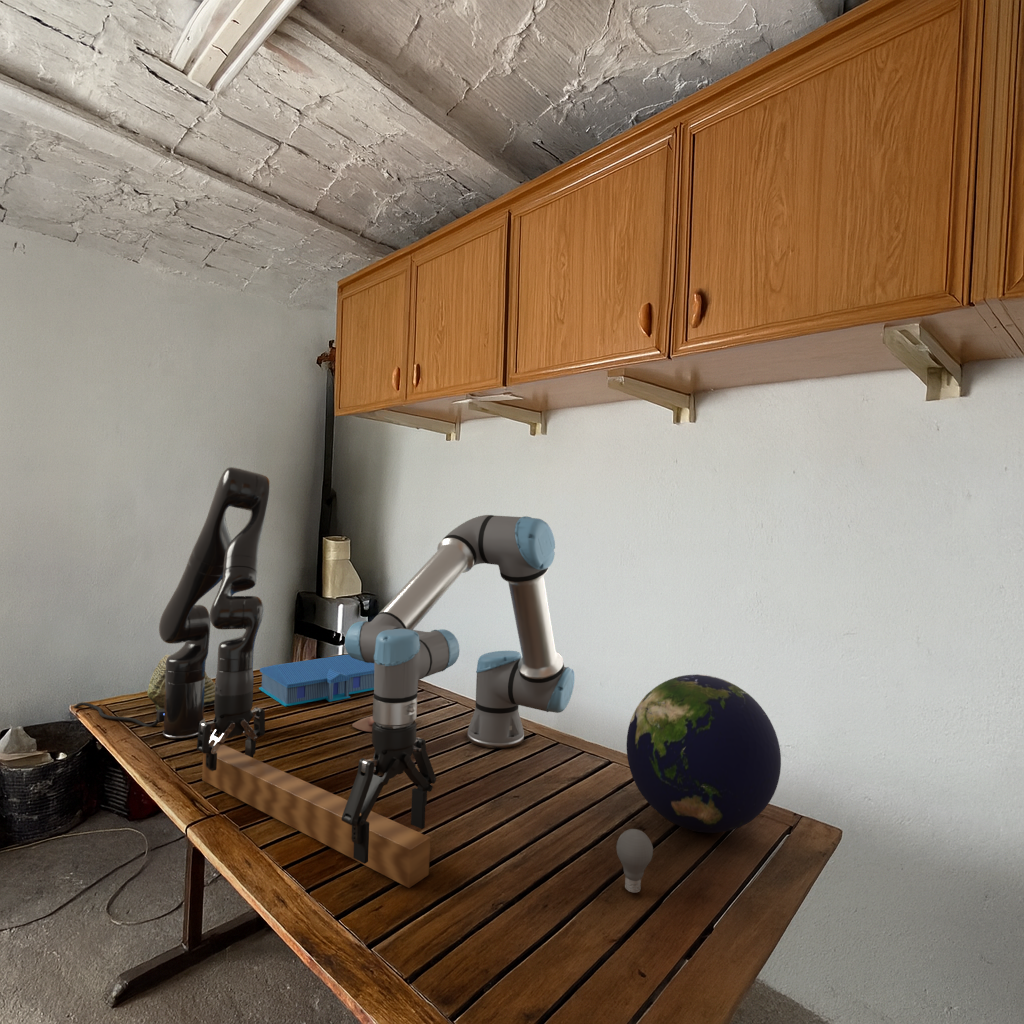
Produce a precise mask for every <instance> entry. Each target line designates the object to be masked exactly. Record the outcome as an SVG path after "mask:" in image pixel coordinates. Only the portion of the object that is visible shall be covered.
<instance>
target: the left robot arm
mask: <svg viewBox="0 0 1024 1024" xmlns="http://www.w3.org/2000/svg"><path fill="white" fill-rule="evenodd" d="M270 481H271V480H270V479H269V478H268V476H266V475H264V474H262V473H258V472H254V471H250V470H247V469H242V468H240V467H239V468H238V467H234V466H229V467H227V468H225V470H224V471H223V472H222V473H221V476H220V477H219V479H218V483H217V484H216V485H217V486H216V488H215V491H214V494H213V497H212V500H211V504H210V506H209V509H208V512H207V516H206V518H205V521H204V523H203V526H202V528H201V531H200V533H199V535H198V537H197V539H196V542H195V544H194V546H193V547H192V548H193V549H192V550H191V553H190V555H189V557H188V560H187V563H186V566H185V568H184V570H183V573H182V576H181V577H180V580H179V582H178V584H177V587H176V588H175V590H174V592H173V594H172V595H171V597H170V599H169V601H168V602H167V604H166V606H165V608H164V610H163V611H162V613H161V616H160V619H159V624H158V632H159V637H160V639H161V640H162V641H163V642H164V643H166V644H170V645H172V644H175V645H177V644H183V643H184V644H183V645H182V647H180V649H178V650H177V651H175V652H174V653H172V654H169V655H170V656H169V657H168V658H167V660H166V674H165V705H164V709H159V710H156V717H155V721H154V722H152V723H145V722H143V721H141V720H139V719H137V718H133V717H125V716H116V715H115V716H113V715H110V714H109V715H108V714H105V713H104V711H103V709H102V708H101V707H99V706H97V705H94V704H92V703H90V702H85V701H83V702H82V701H81V702H78V703H76V704H75V705H74V706H73V709H78V708H79V707H82V706H83V707H87V708H90V709H92V710H96V711H97V712H98V713H99V716H100V717H101V718H103V719H107V720H113V721H126V722H132V723H135V724H137V725H139V726H143V727H149V728H153V727H155V726H157V725H158V724H159V723H160V722H163V731H162V737H164V738H166V739H169V740H185V739H190V738H191V739H192V738H194V737H197V742H196V750H197V752H200V753H202V754H203V753H204V754H205V753H206V767H207V768H208V769H209V770H211V771H214V770H216V769H217V753H216V752H217V750H218V748H219V747H220V746H222V745H224V744H225V741H226V740H227V739H231V738H234V737H235V736H242V734H243V735H244V736H245V737H246V739H245V741H244V742H245V744H244V754H245V755H247V756H250V757H252V758H254V755H256V749H257V748H256V747H257V740H258V738H260V737H264V735H265V734H266V717H265V716H266V711H265V709H263V708H261V707H258V706H256V707H253V703H254V702H253V701H254V677H255V676H254V667H253V666H254V653H255V651H254V650H255V644H256V643H255V642H256V639H257V635H258V632H259V629H260V626H261V623H262V621H263V618H264V615H265V605H264V602H263V600H262V599H261V598H260V597H258V596H256V595H235V594H237V593H240V592H245V591H249V590H251V589H253V588H254V587H256V584H257V581H258V566H259V550H260V545H261V539H262V536H263V530H264V525H265V522H266V518H267V517H266V516H267V511H268V506H269V501H270V494H271V482H270ZM229 507H231V508H235V509H239V510H245V511H249V512H250V515H249V519H248V521H247V523H246V524H245V525H244V527H243V528H242V529H241V530H240V531H239V532H238V533H237V534H236V535H235V536H234V537H233V539H232V537H231V534H230V532H229V529H228V525H227V520H226V514H227V510H228V508H229ZM220 582H221V583H220ZM219 583H220V586H219V588H218V591H217V593H216V596H215V598H214V599H213V602H212V604H211V607H210V609H209V610H208V608H207V607H206V606H205V605H203V604H197V603H198V602H199V600H201V599H202V598H203V597H204V596H205V595H206V594H207V593H209V592H210V591H212V589H214V588H215V587H216V586H217V585H218V584H219ZM211 625H212V626H213V628H215V629H217V630H245V631H244V633H242V634H241V635H240V636H237V637H233V638H229V639H225V640H223V641H221V642H220V643H219V644H218V648H217V665H216V675H215V682H214V684H215V703H214V704H213V705H214V707H213V708H214V709H213V711H214V718H213V720H212V721H208V722H206V717H205V706H204V693H205V672H206V664H207V663H206V662H207V658H208V655H209V649H210V647H209V646H210V637H211ZM252 719H253V728H252V727H251V725H250V722H251V720H252ZM213 729H214V730H213ZM211 733H212V734H211Z"/></svg>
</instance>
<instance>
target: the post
mask: <svg viewBox="0 0 1024 1024" xmlns="http://www.w3.org/2000/svg"><path fill="white" fill-rule="evenodd" d="M216 753H217V769H216V770H214V771H211V770H209V769H208V768H207V767H206V753H205V754H204V753H202V770H201V771H202V772H201V773H202V776H201V780H202V781H203V782H205V783H207V784H208V785H210V786H212V787H214V788H216V789H218V790H220V791H222V792H224V793H226V794H227V795H230V796H231V797H233V798H235V799H237V800H239V801H241V802H243V803H245V804H247V805H249V806H251V808H254V809H256V810H258V811H260V812H262V813H264V814H266V815H267V816H270V817H271V818H273V819H276V820H277V821H279V822H281V823H283V824H285V825H287V826H289V827H291V828H293V829H294V830H297V832H298V831H299V832H300V833H302V834H303V835H306V836H308V837H310V838H312V839H314V840H316V841H318V842H319V843H321V844H323V845H325V846H327V847H329V848H331V849H333V850H335V851H336V852H338V853H341V854H342V855H345V856H346V857H348V858H350V859H352V860H354V861H356V862H358V863H359V864H362V865H364V866H365V867H367V868H369V869H371V870H373V871H375V872H377V873H379V874H380V875H382V876H385V877H387V878H389V879H391V880H392V881H394V882H396V883H398V884H400V885H402V886H404V887H406V888H408V889H410V888H412V887H413V886H415V885H416V884H418V883H419V882H421V881H422V880H424V879H425V878H427V877H428V876H429V875H430V857H431V856H430V855H431V854H430V853H431V837H430V836H429V835H426V834H424V833H422V832H419V831H417V830H415V829H412V828H411V827H408V826H406V825H403V824H402V823H399V822H397V821H395V820H392V819H390V818H389V817H386V816H384V815H381V814H380V813H377V812H375V811H372V810H371V812H370V814H369V816H368V818H367V820H366V821H367V822H369V850H368V862H367V863H365V864H364V863H362V862H360V861H358V860H357V859H355V858H353V854H354V842H352V839H351V837H352V825H350V824H348V823H346V822H344V821H342V815H343V812H344V810H345V807H346V804H347V801H348V799H346V798H344V797H341V796H339V795H337V794H334V793H332V792H330V791H328V790H325V789H323V788H321V787H319V786H317V785H314V784H312V783H310V782H308V781H305V780H303V779H301V778H299V777H296V776H294V775H292V774H290V773H288V772H286V771H283V770H280V769H279V768H277V767H275V766H272V765H270V764H268V763H265V762H263V761H261V760H258V759H256V758H254V757H253V758H252V757H250V756H247V755H245V753H243V752H241V751H239V750H236V749H234V748H232V747H230V746H228V745H225V744H221V745H220V747H219V748H218V750H217V752H216ZM360 816H361V813H360Z"/></svg>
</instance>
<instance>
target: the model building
mask: <svg viewBox="0 0 1024 1024" xmlns="http://www.w3.org/2000/svg"><path fill="white" fill-rule="evenodd" d="M259 672H260V673H261V686H260V687H258V690H260V691H261V692H262V693H264V694H265V695H267V696H268V697H270V698H271V699H273V700H274V701H276V702H277V703H279V704H280V705H282V706H283V707H290V706H297V705H302V704H307V703H312V702H317V701H323V700H325V701H327V702H329V703H330V702H335V701H341V700H346V699H347V700H348V699H350V698H351V695H353V694H359V693H364V692H365V693H366V692H369V691H374V663H366V662H364V661H360V660H357V659H354V658H352V657H350V656H349V655H348V654H342V655H341V654H340V655H335V656H329V657H328V656H327V657H321V658H315V659H314V658H313V659H307V660H300V661H293V662H287V663H278V664H272V665H268V666H264V667H263V666H262V667H260V668H259Z"/></svg>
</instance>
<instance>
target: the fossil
mask: <svg viewBox="0 0 1024 1024" xmlns="http://www.w3.org/2000/svg"><path fill="white" fill-rule="evenodd" d="M170 655H171V654H165V655H164V656H163V657H162V658H161V659H160V660H159V662H158V663H157V666H156V667H155V669H154V670H153V672H152V675H151V677H150V680H149V684H148V688H147V697H148V699H149V700H150V701H152V703H153V704H154V706H155V711H157V710H159V709H164V705H165V674H166V660H167V658H168V657H169V656H170ZM214 703H215V682H214V681H213V679H212V678H211V677H209V675H208V674H207V672H206V671H205V693H204V707H207V706H213V705H214Z"/></svg>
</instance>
